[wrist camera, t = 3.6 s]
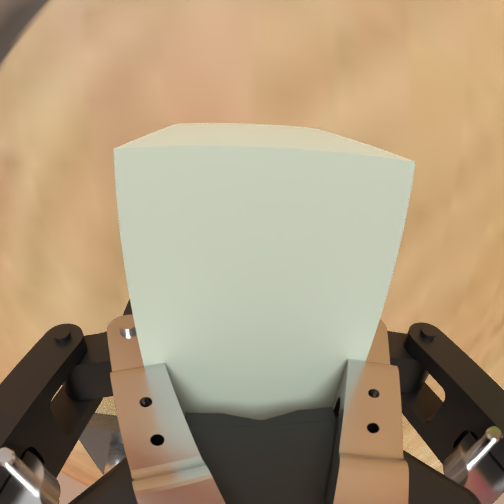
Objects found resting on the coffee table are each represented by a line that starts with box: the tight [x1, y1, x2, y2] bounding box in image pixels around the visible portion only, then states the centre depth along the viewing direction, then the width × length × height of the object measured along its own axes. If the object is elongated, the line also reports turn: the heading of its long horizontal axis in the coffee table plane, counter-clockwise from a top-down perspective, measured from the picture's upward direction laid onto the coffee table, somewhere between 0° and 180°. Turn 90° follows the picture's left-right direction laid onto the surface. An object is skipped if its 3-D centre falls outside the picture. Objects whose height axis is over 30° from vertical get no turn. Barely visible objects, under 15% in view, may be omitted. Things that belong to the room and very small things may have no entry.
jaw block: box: [114, 123, 416, 420], centre depth 10 cm, size 5×12×7 cm, turn 178°
